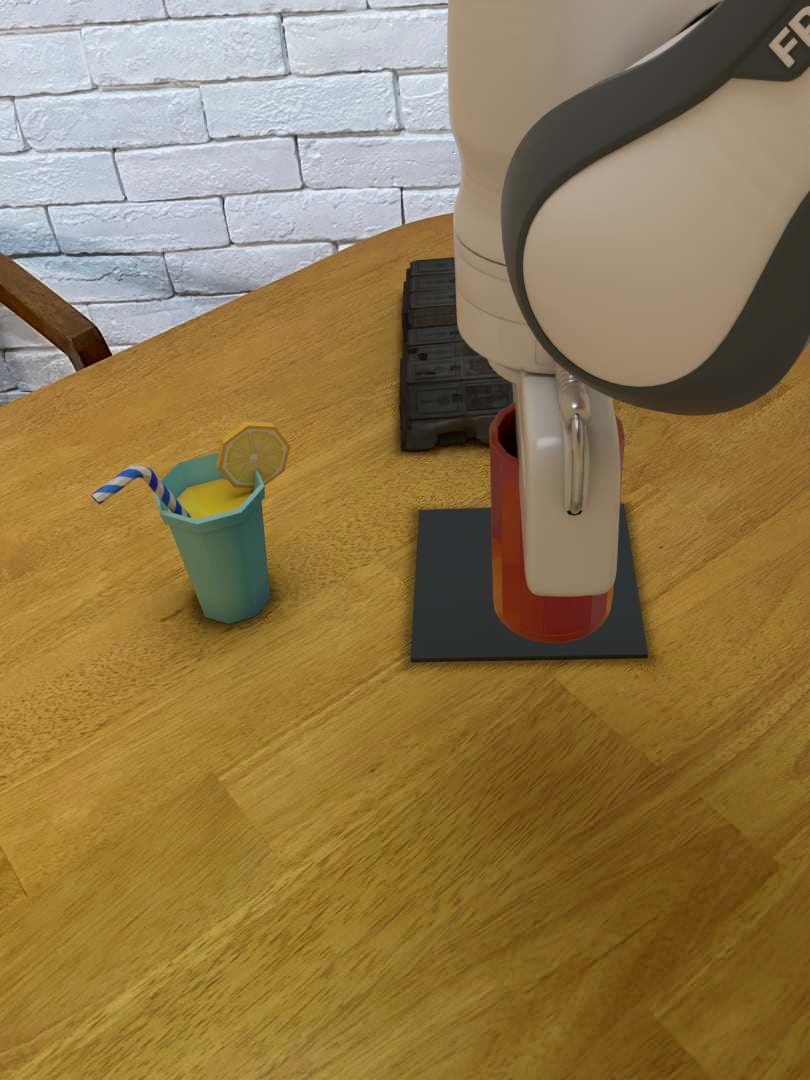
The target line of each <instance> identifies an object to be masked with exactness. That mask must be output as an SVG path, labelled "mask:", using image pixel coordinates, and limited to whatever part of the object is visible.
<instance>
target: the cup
mask: <svg viewBox="0 0 810 1080" xmlns="http://www.w3.org/2000/svg"><path fill="white" fill-rule="evenodd" d="M290 449H291V445H290V442H288V441H287V438H285V437H284V436H283V434H282V433H281V431H279V429H278V427H276V425H275V424H274V423H273V422H261V421H260V422H259V421H244V422H242V423H241V424H240V425H238V426H237V427H236V428H234V429H233V430H232V431H230V432H229V433H228V434H226V435H225V436H224V437H222V438H221V439H220V444H219V449H218V452H215V453H211V454H208V455H204V456H199V457H196V458H191V459H187V460H184V461H179V462H178V463H177V464H175V466H173V468H172V469H170V470H169V471H168V472H167V473H166V474H165V475H164V476H163V477H162V479H161V478H160V477H159V476H158V475H157V474H156V472H155V471H154V470H153V469H152V468H150V467H147V466H145V465H131V464H130V465H129V466H128V467H127V468H124V469H123V470H122V471H121V472H120V473H118V474H117V475H116V476H114V477H113V478H112V479H110V480H109V481H107V482H106V483H105V484H104V485H102V486H100V487H99V488H98V489H97V490H95V491H94V492H93V493H91V494H90V496H91V498H92V500H94V501H95V502H96V503H97V505H99V506H100V505H102V504H103V503H104V502H106V501H107V500H109V499H111V497H113V496H115V494H117V493H119V492H120V491H121V490H123V489H124V488H125V487H127V486H128V485H129V484H132V482H133V481H135V480H136V479H138V478H139V479H140V478H141V479H142V480H143V481H144V482H145V483H146V484H147V485H148V487H149V488H150V489H151V491H153V495H154V499H155V501H156V505H157V508H158V509H157V510H158V512H159V516H160V517H161V520H162V521H163V524H164V525H166V526H168V527H169V529H170V532H171V534H172V537H173V539H174V541H175V544H176V548H177V550H178V551H179V554H180V557H181V559H182V562H183V564H184V565H183V566H184V568H185V569H186V572H187V575H188V577H189V580H190V582H191V585H192V588H193V590H194V593H195V595H196V598H197V600H198V603H199V605H200V608H201V610H202V613H203V615H204V617H205V618H208V619H211V620H214V621H217V622H221V623H224V624H226V625H230V624H234V623H237V622H241V621H244V620H247V619H251V618H254V617H257V615H258V614H259V613H260V612H261V611H262V609H263V608H264V607H265V606H266V605H267V603H268V602H269V601H270V600H271V590H270V589H271V588H270V579H269V569H268V568H269V567H268V556H267V545H266V536H265V535H266V534H265V533H266V532H265V522H264V512H263V500H264V499H265V498H266V493H265V492H266V485H268V484H269V483H271V482H272V481H273V480H274V479H276V478H277V477H279V476H280V475H282V474H283V473H284V472H285V470H286V466H287V461H288V457H289V453H290Z"/></svg>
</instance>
